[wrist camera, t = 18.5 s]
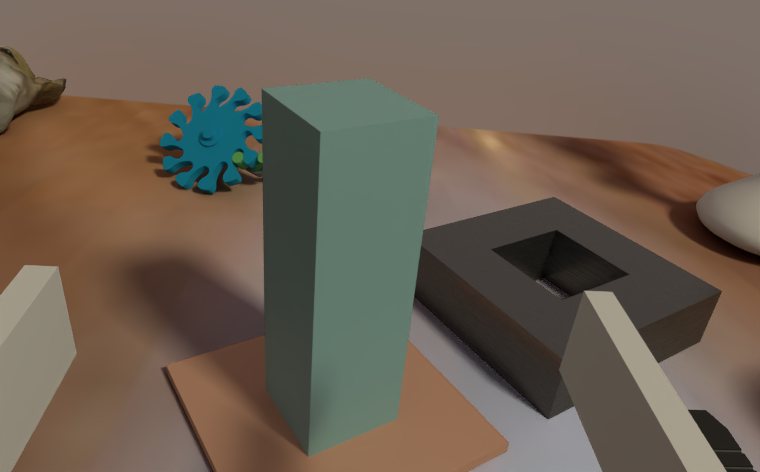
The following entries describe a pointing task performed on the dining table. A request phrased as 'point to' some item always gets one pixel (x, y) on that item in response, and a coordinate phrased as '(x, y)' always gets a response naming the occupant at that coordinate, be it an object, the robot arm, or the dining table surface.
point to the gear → (215, 140)
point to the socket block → (539, 306)
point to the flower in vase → (734, 212)
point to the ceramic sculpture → (22, 86)
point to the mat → (346, 460)
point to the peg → (341, 251)
